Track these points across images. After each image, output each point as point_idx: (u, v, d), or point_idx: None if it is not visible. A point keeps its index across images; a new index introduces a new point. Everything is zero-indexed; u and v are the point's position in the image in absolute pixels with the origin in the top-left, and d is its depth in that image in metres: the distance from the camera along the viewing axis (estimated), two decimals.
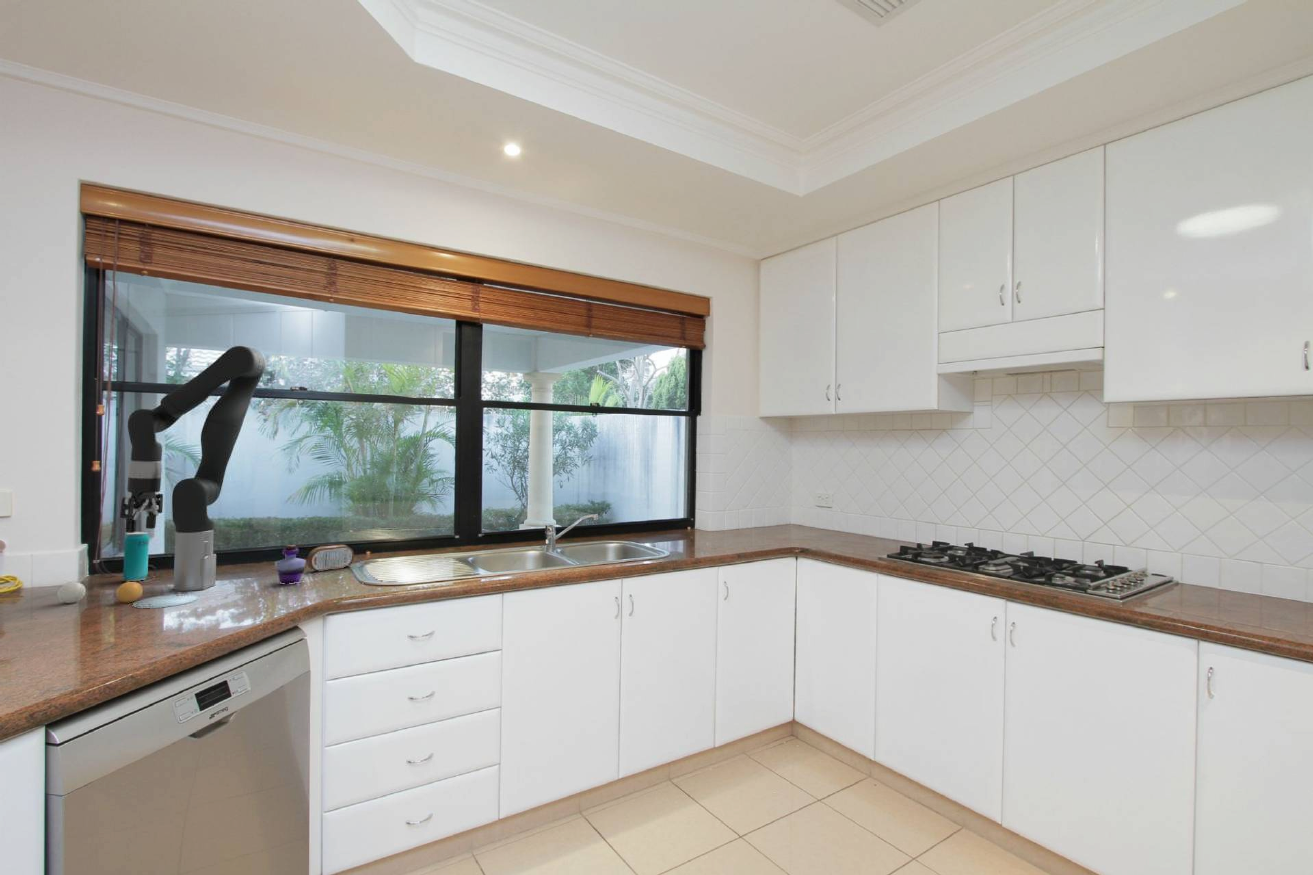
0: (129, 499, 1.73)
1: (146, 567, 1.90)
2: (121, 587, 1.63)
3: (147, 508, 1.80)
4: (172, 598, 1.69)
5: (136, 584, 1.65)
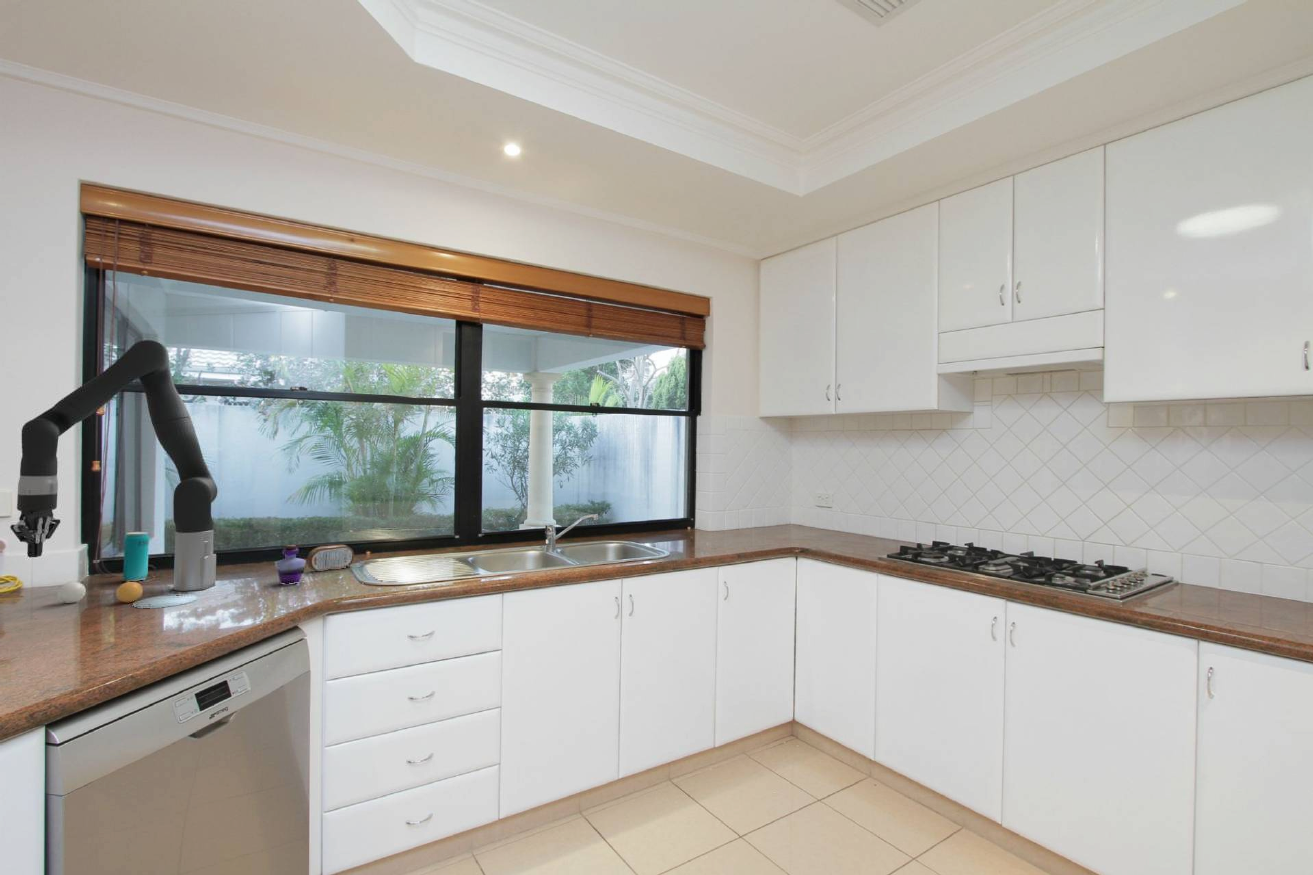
0: (18, 528, 1.56)
1: (146, 567, 1.90)
2: (121, 587, 1.63)
3: None
4: (172, 598, 1.69)
5: (136, 584, 1.65)
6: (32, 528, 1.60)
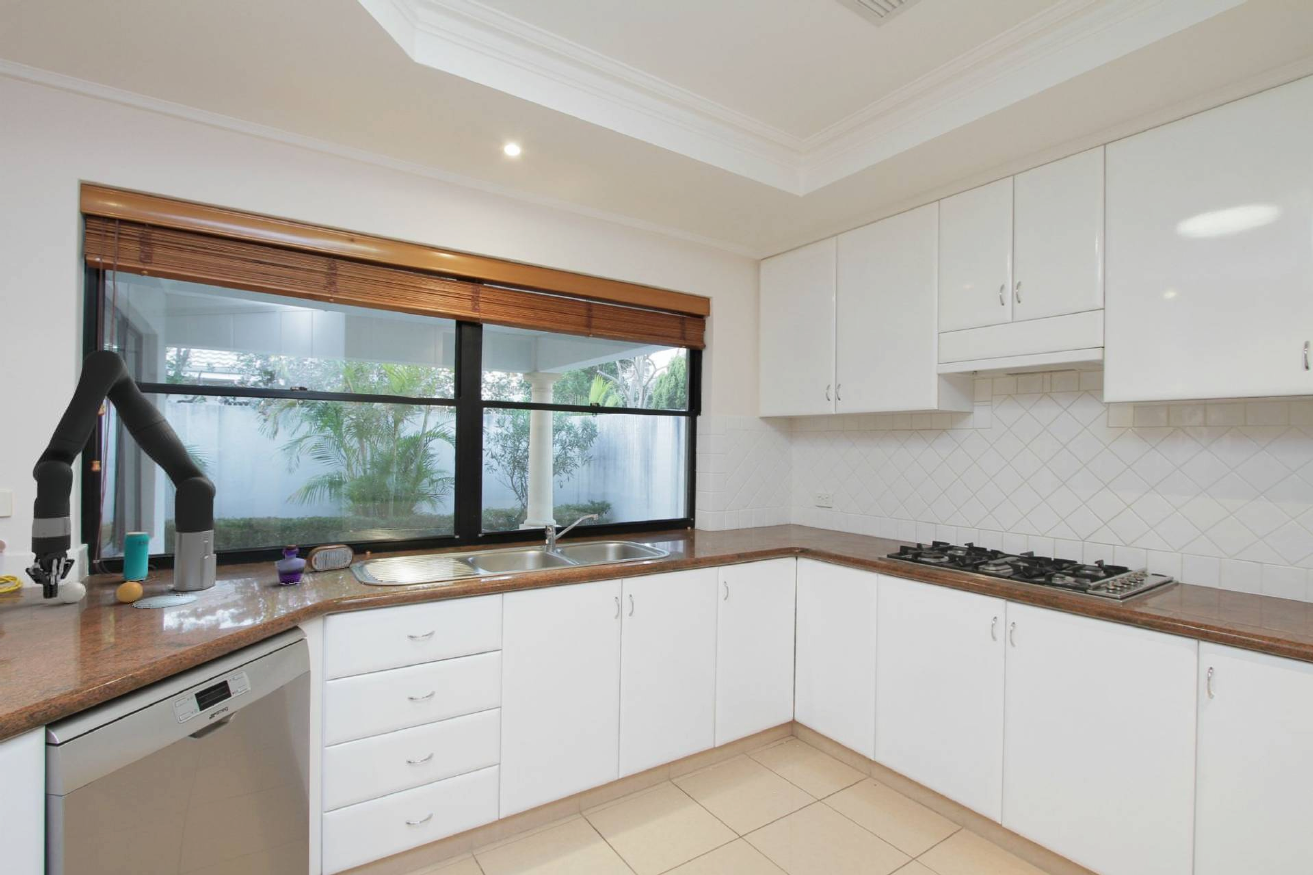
0: (33, 571, 1.57)
1: (146, 567, 1.90)
2: (121, 587, 1.63)
3: None
4: (172, 598, 1.69)
5: (136, 584, 1.65)
6: (47, 570, 1.61)
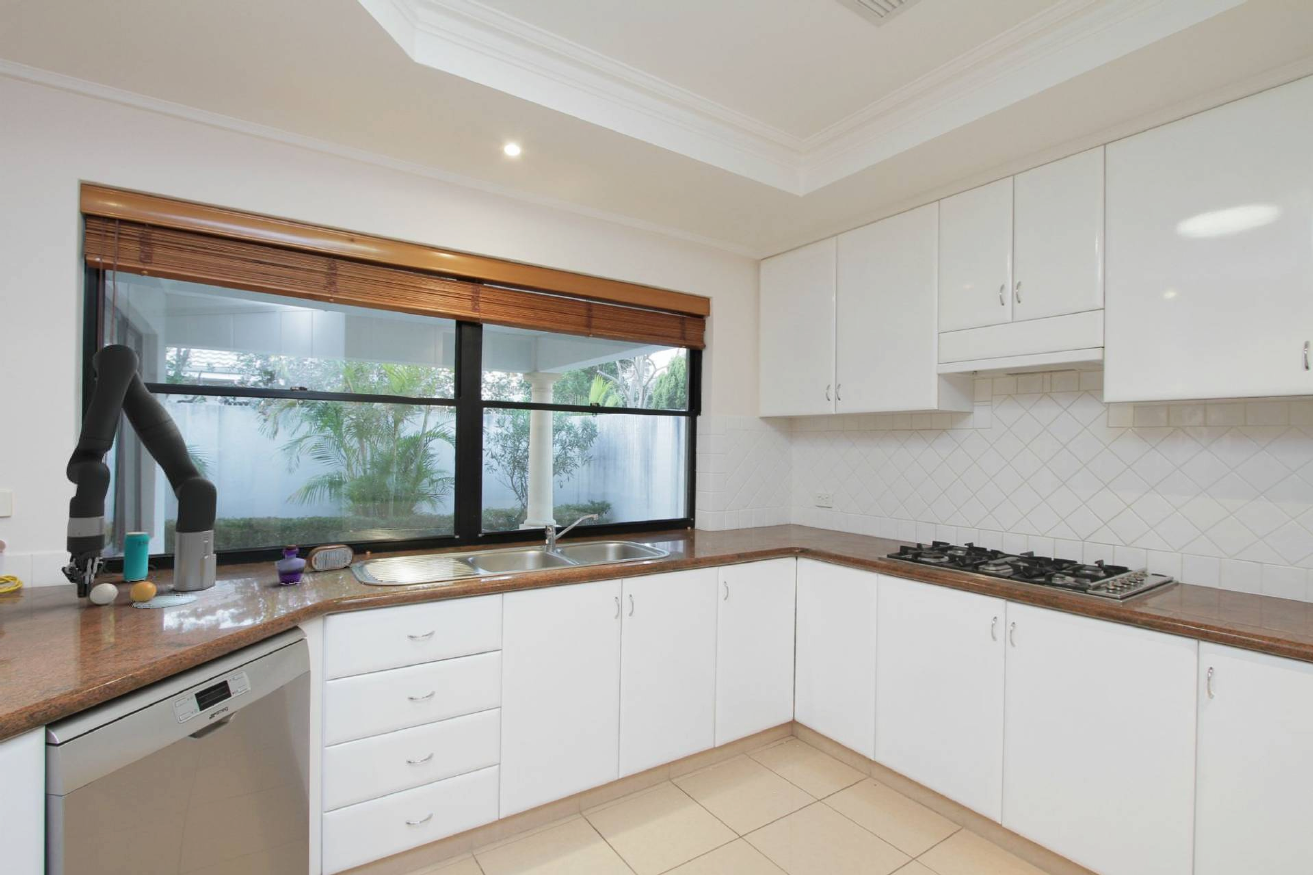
0: (69, 570, 1.58)
1: (146, 567, 1.90)
2: (144, 589, 1.64)
3: None
4: (172, 598, 1.69)
5: (153, 595, 1.66)
6: (82, 569, 1.62)
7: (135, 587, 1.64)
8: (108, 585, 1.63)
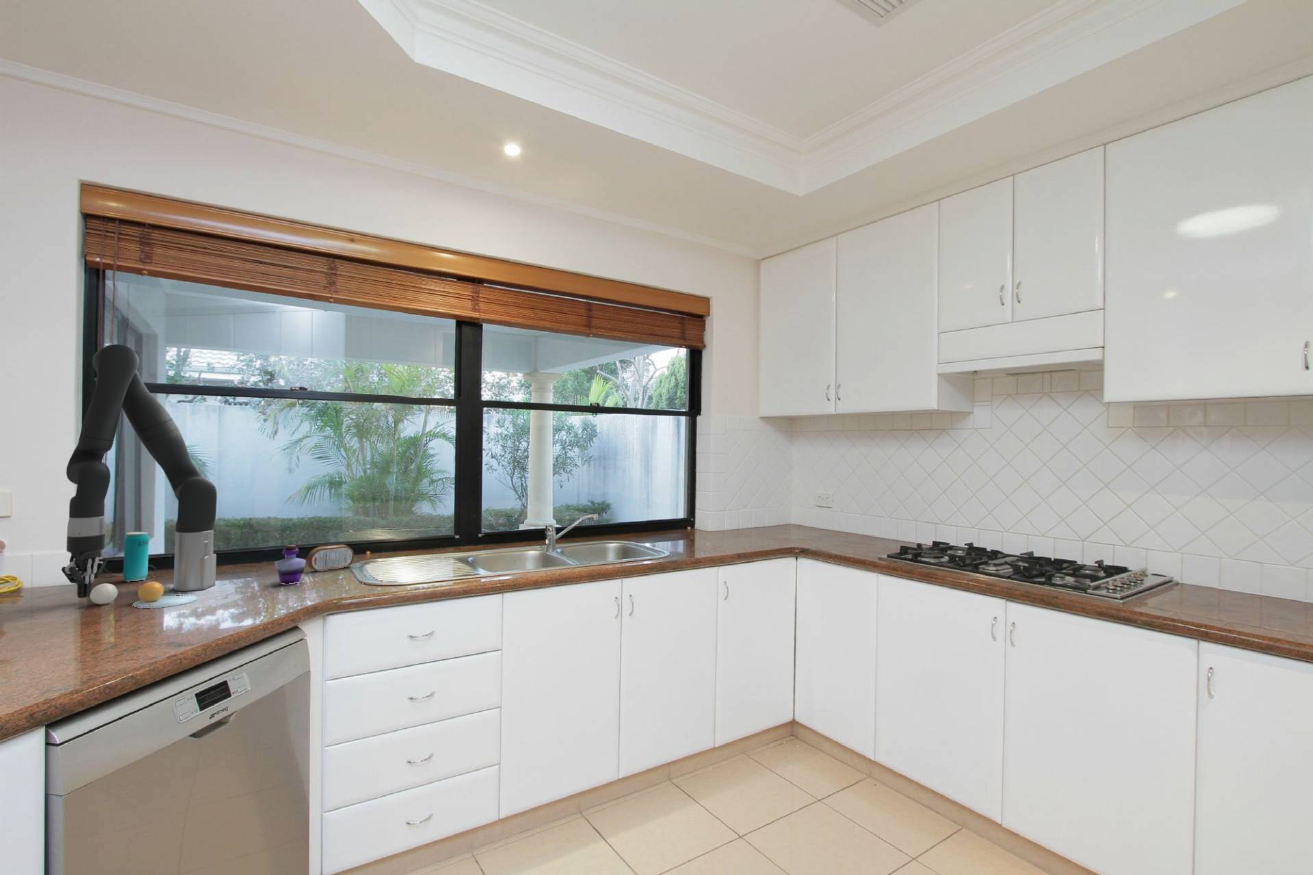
0: (69, 570, 1.58)
1: (146, 567, 1.90)
2: (153, 593, 1.64)
3: None
4: (172, 598, 1.69)
5: (155, 600, 1.66)
6: (82, 569, 1.62)
7: (148, 587, 1.64)
8: (108, 585, 1.63)
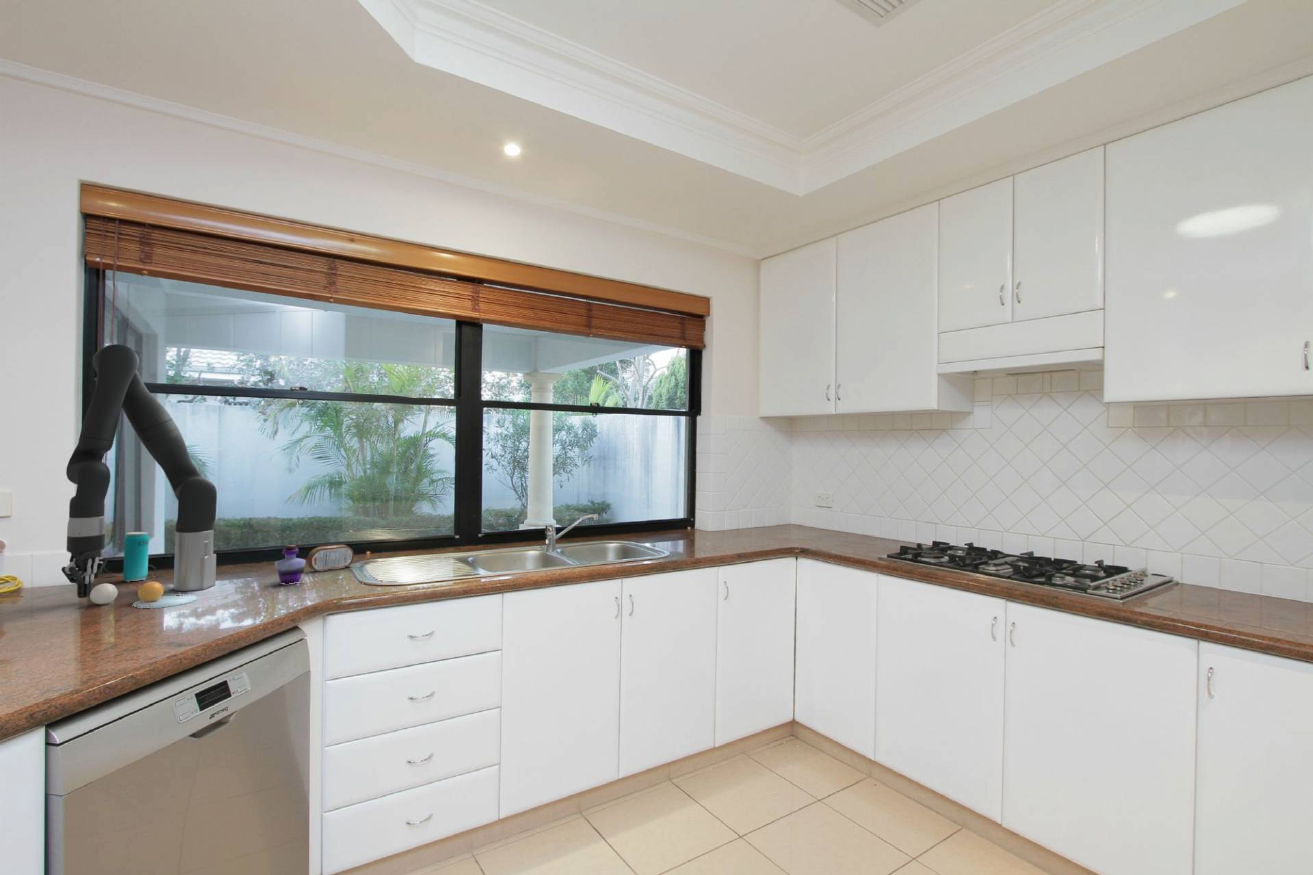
0: (69, 570, 1.58)
1: (146, 567, 1.90)
2: (153, 593, 1.64)
3: None
4: (172, 598, 1.69)
5: (155, 600, 1.66)
6: (82, 569, 1.62)
7: (148, 587, 1.64)
8: (108, 585, 1.63)
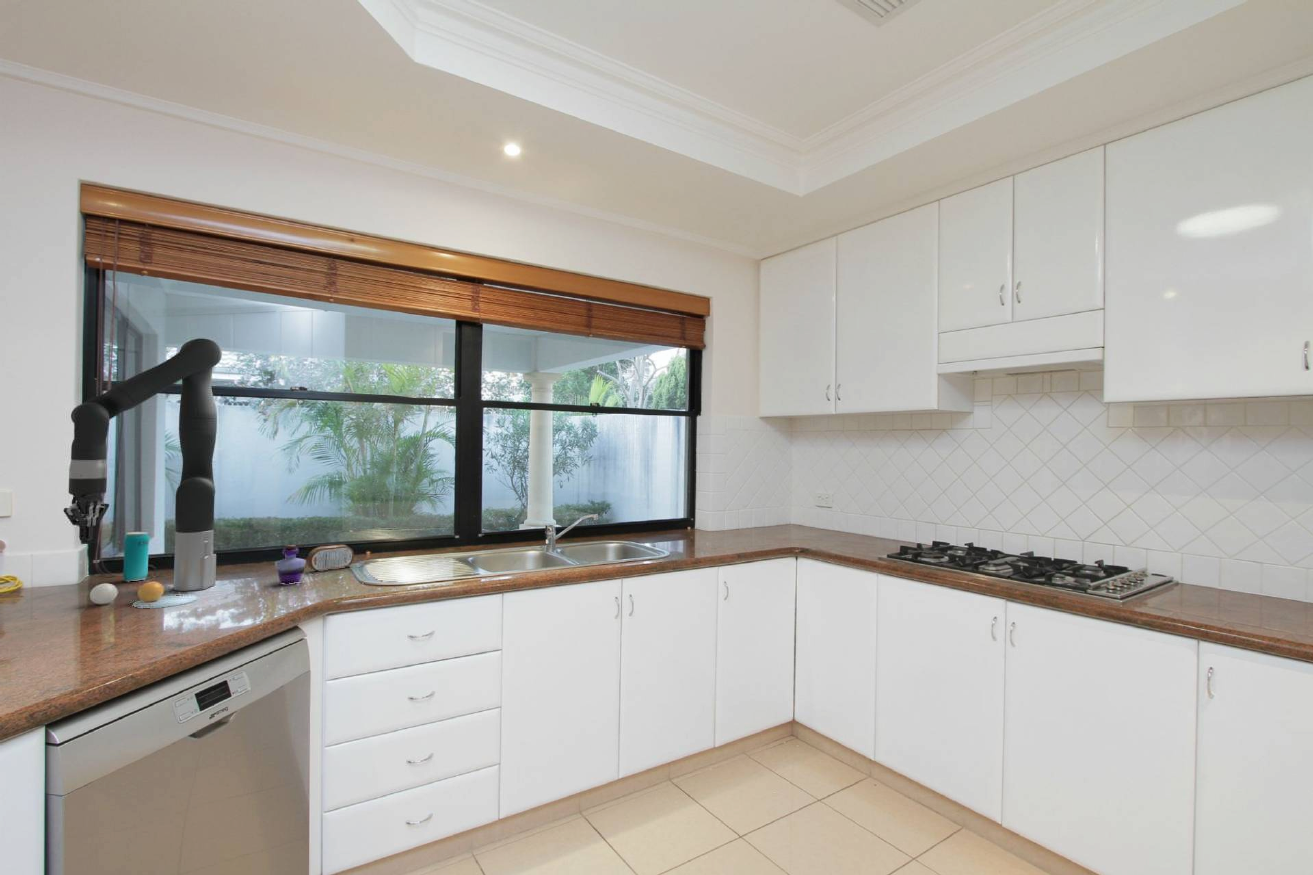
0: (71, 511, 1.58)
1: (146, 567, 1.90)
2: (153, 593, 1.64)
3: None
4: (172, 598, 1.69)
5: (155, 600, 1.66)
6: (84, 511, 1.62)
7: (148, 587, 1.64)
8: (108, 585, 1.63)
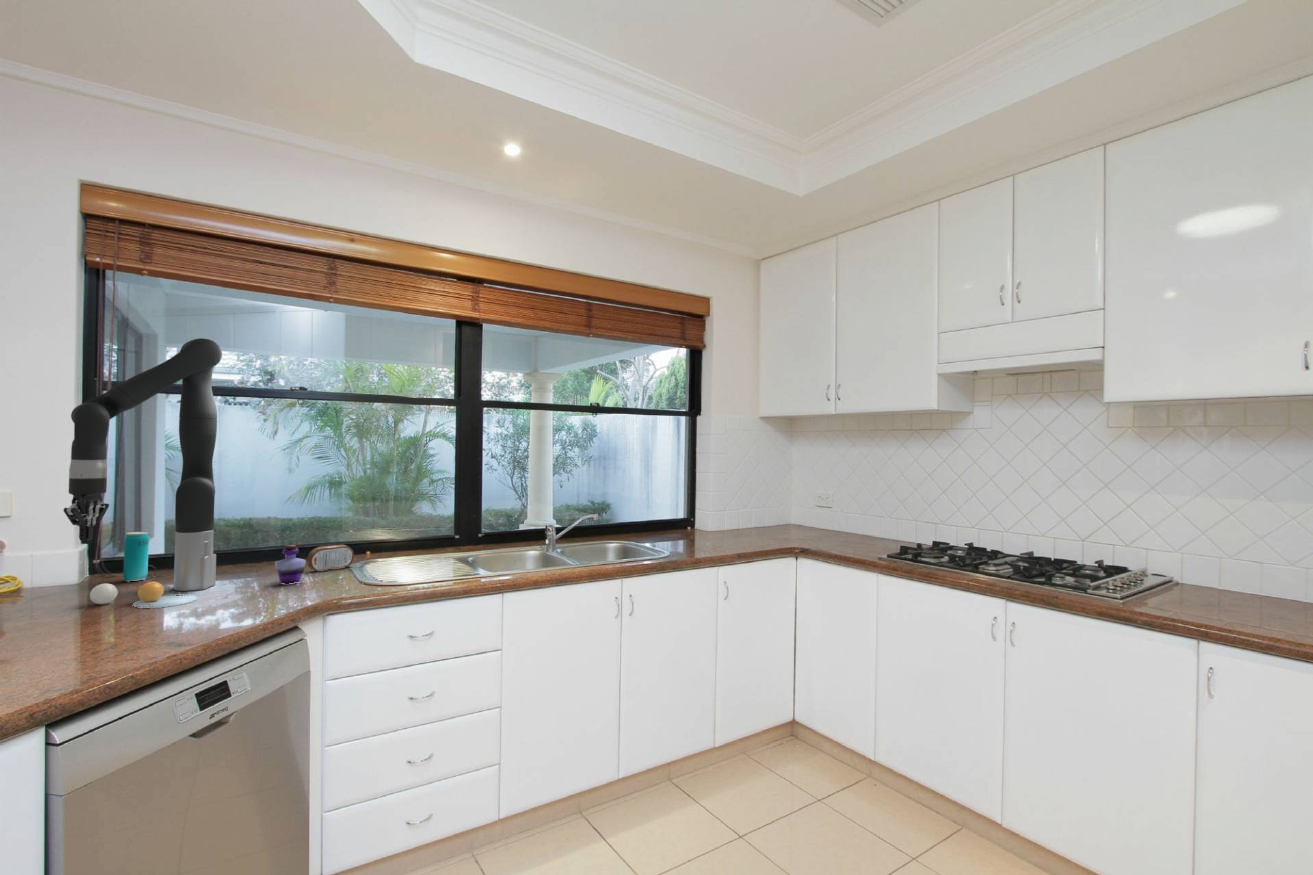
0: (71, 511, 1.58)
1: (146, 567, 1.90)
2: (153, 593, 1.64)
3: None
4: (172, 598, 1.69)
5: (155, 600, 1.66)
6: (84, 511, 1.62)
7: (148, 587, 1.64)
8: (108, 585, 1.63)
